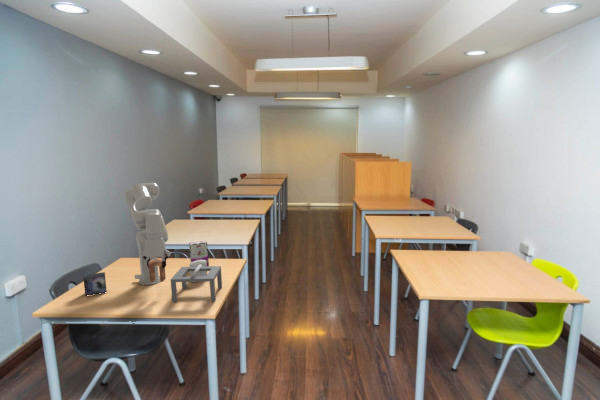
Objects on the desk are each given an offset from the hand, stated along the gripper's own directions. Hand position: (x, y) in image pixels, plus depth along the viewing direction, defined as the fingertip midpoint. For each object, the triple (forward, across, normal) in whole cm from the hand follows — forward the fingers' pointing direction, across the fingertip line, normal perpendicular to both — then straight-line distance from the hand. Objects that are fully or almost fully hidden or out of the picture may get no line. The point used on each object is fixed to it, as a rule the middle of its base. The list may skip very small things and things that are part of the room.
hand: (156, 267), depth 205 cm
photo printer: (+16, +17, +20) cm, 31 cm away
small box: (+17, -36, +4) cm, 40 cm away
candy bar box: (+17, +11, +45) cm, 49 cm away
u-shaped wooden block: (+7, 0, 0) cm, 7 cm away
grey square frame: (+15, +22, -1) cm, 27 cm away
